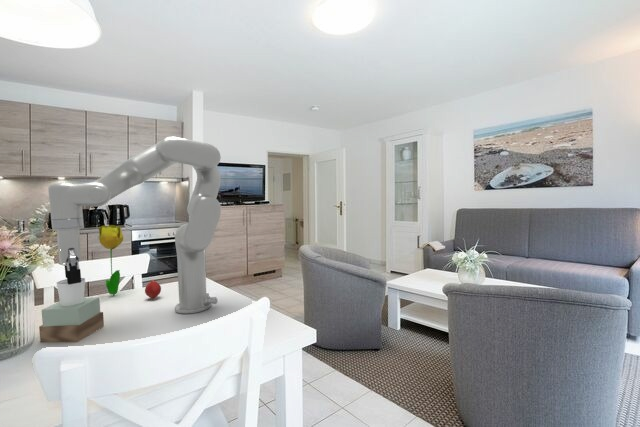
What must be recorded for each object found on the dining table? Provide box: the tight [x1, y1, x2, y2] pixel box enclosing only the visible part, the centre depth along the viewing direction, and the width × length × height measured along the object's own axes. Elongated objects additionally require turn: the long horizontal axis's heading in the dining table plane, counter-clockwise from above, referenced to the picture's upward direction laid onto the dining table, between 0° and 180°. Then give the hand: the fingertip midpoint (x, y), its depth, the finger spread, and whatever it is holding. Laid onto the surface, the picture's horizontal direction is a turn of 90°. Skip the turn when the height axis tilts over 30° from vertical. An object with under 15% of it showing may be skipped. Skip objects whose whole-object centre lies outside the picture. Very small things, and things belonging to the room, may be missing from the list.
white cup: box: [56, 277, 86, 306], centre depth 97 cm, size 7×7×7 cm
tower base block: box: [38, 311, 105, 343], centre depth 97 cm, size 11×11×5 cm
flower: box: [98, 224, 124, 297], centre depth 133 cm, size 9×8×30 cm
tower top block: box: [41, 296, 101, 327], centre depth 97 cm, size 10×10×5 cm
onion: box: [144, 279, 162, 300], centre depth 129 cm, size 6×6×8 cm
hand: (73, 280), depth 97 cm, fingers open, 9 cm apart
